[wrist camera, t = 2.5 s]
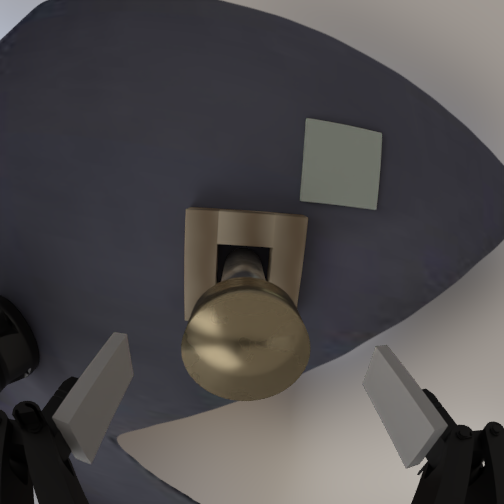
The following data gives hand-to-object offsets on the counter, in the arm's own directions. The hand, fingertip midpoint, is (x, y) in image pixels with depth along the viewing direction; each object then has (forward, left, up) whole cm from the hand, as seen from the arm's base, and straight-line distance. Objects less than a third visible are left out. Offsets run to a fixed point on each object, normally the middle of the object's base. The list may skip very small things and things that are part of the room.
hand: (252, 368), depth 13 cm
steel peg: (0, 0, -18) cm, 18 cm away
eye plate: (0, 0, -18) cm, 18 cm away
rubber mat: (+10, +12, -18) cm, 24 cm away
